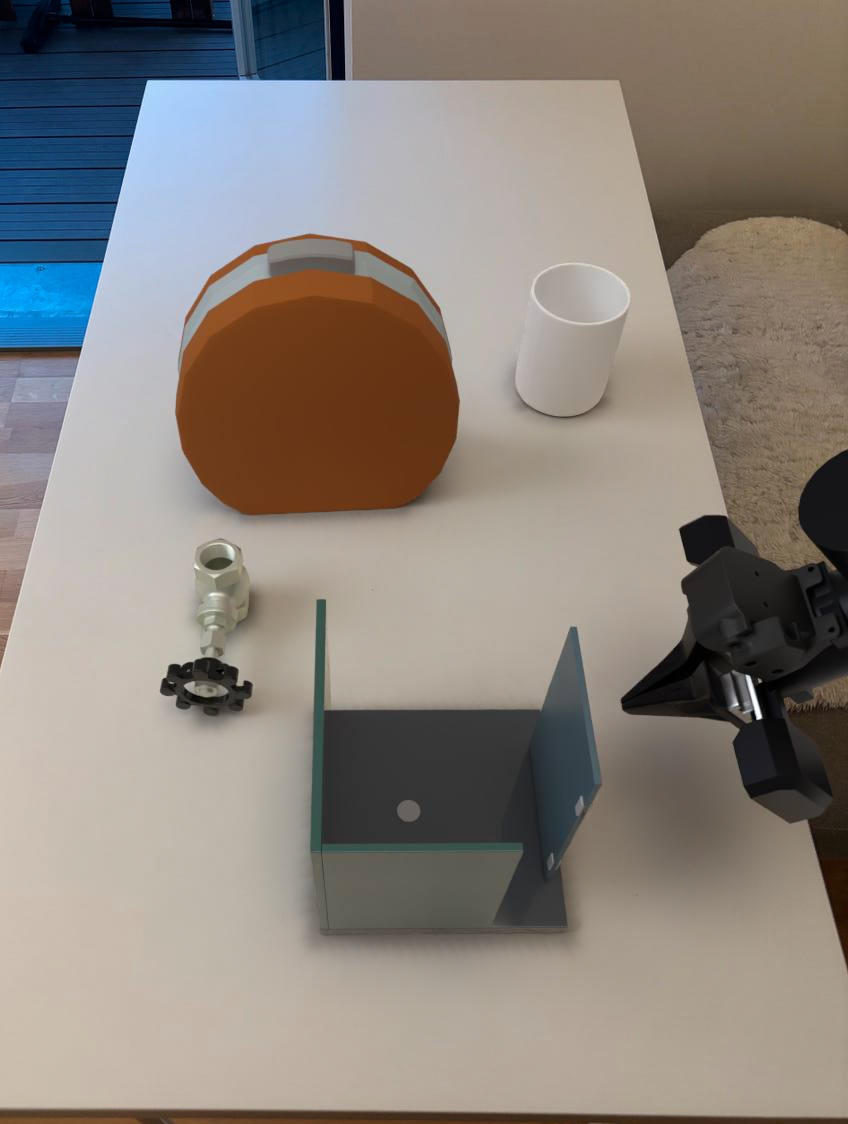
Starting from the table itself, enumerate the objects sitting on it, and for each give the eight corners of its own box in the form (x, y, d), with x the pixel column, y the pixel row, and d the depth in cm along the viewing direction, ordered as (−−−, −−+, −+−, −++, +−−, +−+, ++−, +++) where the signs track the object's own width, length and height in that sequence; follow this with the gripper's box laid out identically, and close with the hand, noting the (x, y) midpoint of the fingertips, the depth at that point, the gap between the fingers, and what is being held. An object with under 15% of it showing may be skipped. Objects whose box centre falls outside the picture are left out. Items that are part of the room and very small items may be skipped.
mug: (582, 333, 92) (607, 236, 84) (613, 416, 86) (642, 321, 77) (499, 339, 92) (514, 242, 83) (523, 423, 85) (542, 327, 76)
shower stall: (537, 716, 68) (578, 598, 56) (564, 932, 60) (620, 851, 47) (323, 717, 68) (316, 598, 56) (319, 934, 60) (309, 852, 47)
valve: (190, 585, 75) (167, 714, 68) (177, 533, 69) (150, 668, 63) (271, 588, 75) (255, 717, 68) (264, 536, 69) (246, 672, 63)
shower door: (553, 742, 66) (600, 626, 53) (571, 878, 60) (628, 784, 48) (527, 743, 65) (568, 626, 53) (543, 878, 60) (592, 784, 48)
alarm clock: (437, 425, 85) (460, 193, 66) (449, 505, 80) (479, 278, 61) (198, 435, 84) (152, 202, 65) (195, 517, 79) (143, 290, 60)
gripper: (769, 411, 50) (535, 538, 59) (875, 709, 40) (573, 808, 49) (846, 507, 57) (625, 608, 66) (953, 783, 47) (675, 858, 56)
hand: (624, 707), depth 59 cm, fingers closed
